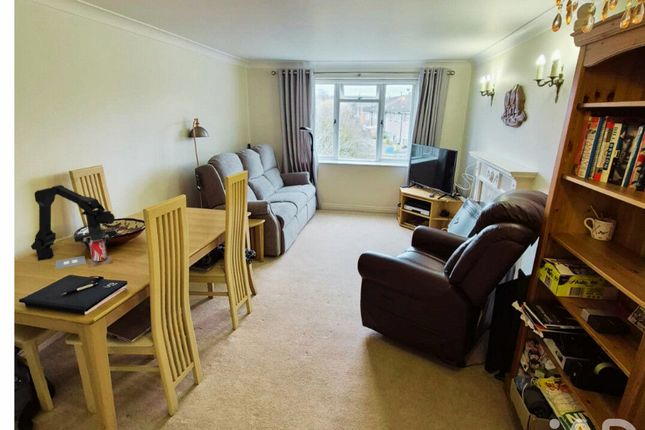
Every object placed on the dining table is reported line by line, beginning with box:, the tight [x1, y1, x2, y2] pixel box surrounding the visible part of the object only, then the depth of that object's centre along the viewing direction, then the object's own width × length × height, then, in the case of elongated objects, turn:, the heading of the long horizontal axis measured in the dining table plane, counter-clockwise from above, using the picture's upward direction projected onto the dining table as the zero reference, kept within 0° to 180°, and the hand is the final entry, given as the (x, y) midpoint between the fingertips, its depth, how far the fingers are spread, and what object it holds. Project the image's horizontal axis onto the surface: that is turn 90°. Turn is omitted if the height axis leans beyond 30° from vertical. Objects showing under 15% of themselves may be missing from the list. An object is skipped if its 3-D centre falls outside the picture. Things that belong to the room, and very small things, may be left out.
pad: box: [87, 255, 114, 268], centre depth 188 cm, size 11×11×1 cm
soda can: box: [88, 237, 108, 261], centre depth 186 cm, size 7×7×12 cm
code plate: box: [55, 255, 87, 270], centre depth 185 cm, size 13×12×1 cm
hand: (98, 250), depth 186 cm, fingers closed on soda can, 7 cm apart
